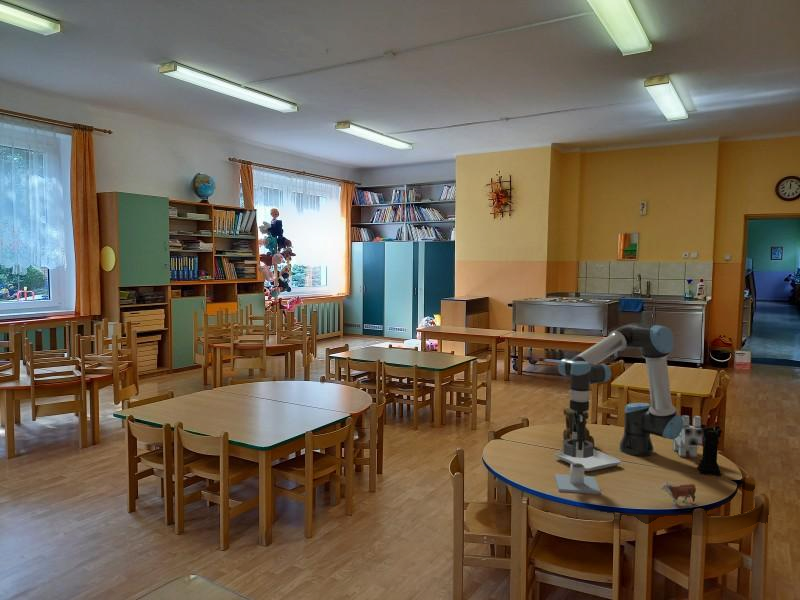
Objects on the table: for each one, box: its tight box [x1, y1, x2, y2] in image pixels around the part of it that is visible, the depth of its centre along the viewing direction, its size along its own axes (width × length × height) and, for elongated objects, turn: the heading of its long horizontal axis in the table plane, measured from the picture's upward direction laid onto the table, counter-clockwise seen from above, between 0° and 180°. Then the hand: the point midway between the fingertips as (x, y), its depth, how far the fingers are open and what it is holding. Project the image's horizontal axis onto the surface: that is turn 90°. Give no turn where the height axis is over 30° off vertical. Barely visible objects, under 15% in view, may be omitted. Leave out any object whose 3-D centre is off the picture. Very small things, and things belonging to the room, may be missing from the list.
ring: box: [561, 439, 595, 458], centre depth 235 cm, size 12×12×4 cm
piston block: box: [554, 463, 602, 495], centre depth 236 cm, size 16×16×8 cm
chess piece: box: [696, 423, 723, 477], centre depth 251 cm, size 8×8×20 cm
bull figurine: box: [660, 481, 697, 506], centre depth 219 cm, size 4×13×8 cm, turn 95°
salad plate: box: [554, 448, 622, 472], centre depth 261 cm, size 21×21×3 cm
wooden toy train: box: [562, 407, 595, 449], centre depth 284 cm, size 20×11×17 cm, turn 179°
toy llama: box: [672, 414, 703, 459], centre depth 273 cm, size 8×18×20 cm, turn 173°
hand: (577, 452), depth 235 cm, fingers closed on ring, 11 cm apart
